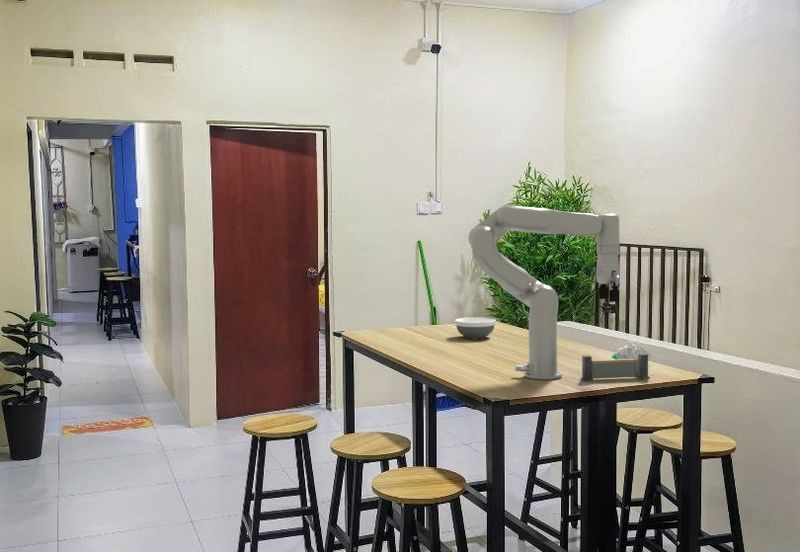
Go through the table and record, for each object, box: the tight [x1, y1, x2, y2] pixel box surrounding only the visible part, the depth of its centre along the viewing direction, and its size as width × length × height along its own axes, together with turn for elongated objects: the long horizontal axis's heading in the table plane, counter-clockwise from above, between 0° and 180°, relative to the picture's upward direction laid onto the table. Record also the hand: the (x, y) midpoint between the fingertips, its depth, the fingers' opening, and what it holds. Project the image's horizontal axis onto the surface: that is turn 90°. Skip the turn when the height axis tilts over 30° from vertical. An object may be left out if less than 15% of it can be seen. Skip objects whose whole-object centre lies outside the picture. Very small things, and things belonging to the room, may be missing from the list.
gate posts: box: [580, 354, 650, 382], centre depth 267 cm, size 23×3×8 cm, turn 96°
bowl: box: [454, 316, 497, 339], centre depth 363 cm, size 19×19×8 cm
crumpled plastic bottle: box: [611, 340, 653, 360], centre depth 291 cm, size 12×9×10 cm
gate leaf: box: [592, 359, 639, 380], centre depth 267 cm, size 16×1×6 cm, turn 96°
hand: (608, 300), depth 272 cm, fingers open, 9 cm apart
